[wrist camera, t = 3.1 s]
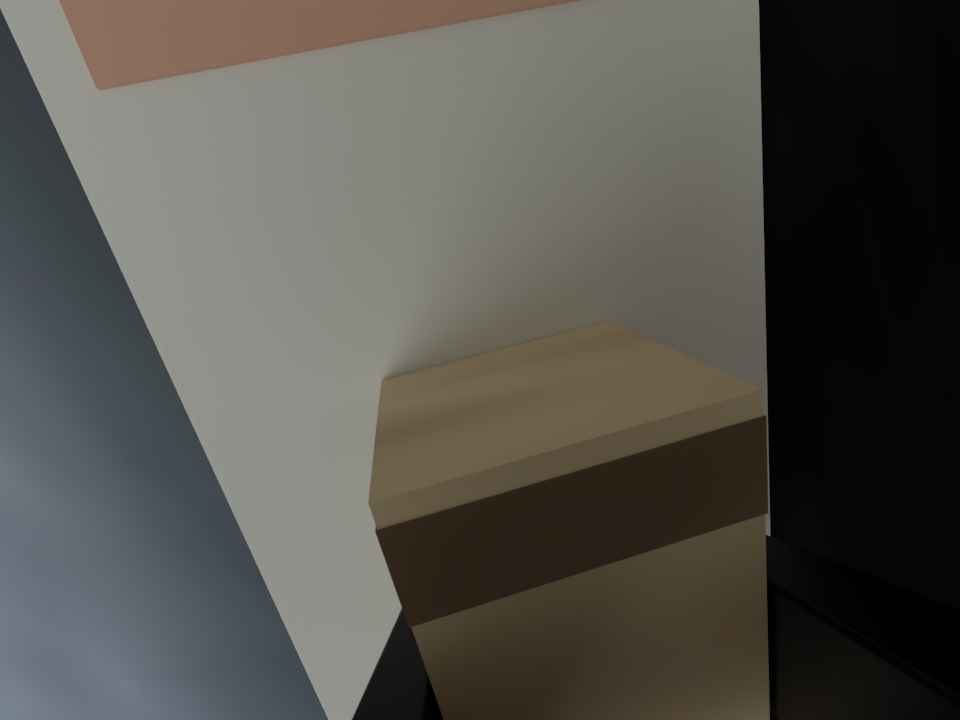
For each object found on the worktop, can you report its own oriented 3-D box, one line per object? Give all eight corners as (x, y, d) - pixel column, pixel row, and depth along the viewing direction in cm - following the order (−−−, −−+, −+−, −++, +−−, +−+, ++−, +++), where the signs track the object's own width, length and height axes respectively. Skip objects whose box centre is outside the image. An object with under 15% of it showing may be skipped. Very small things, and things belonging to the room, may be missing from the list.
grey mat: (758, 644, 12) (776, 665, 11) (369, 780, 11) (367, 811, 10) (703, -890, 5) (743, -1037, 4) (-386, -908, 4) (-521, -1103, 3)
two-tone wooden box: (649, 622, 10) (774, 820, 7) (472, 681, 10) (512, 921, 6) (610, 319, 8) (766, 390, 5) (380, 380, 8) (365, 506, 4)
